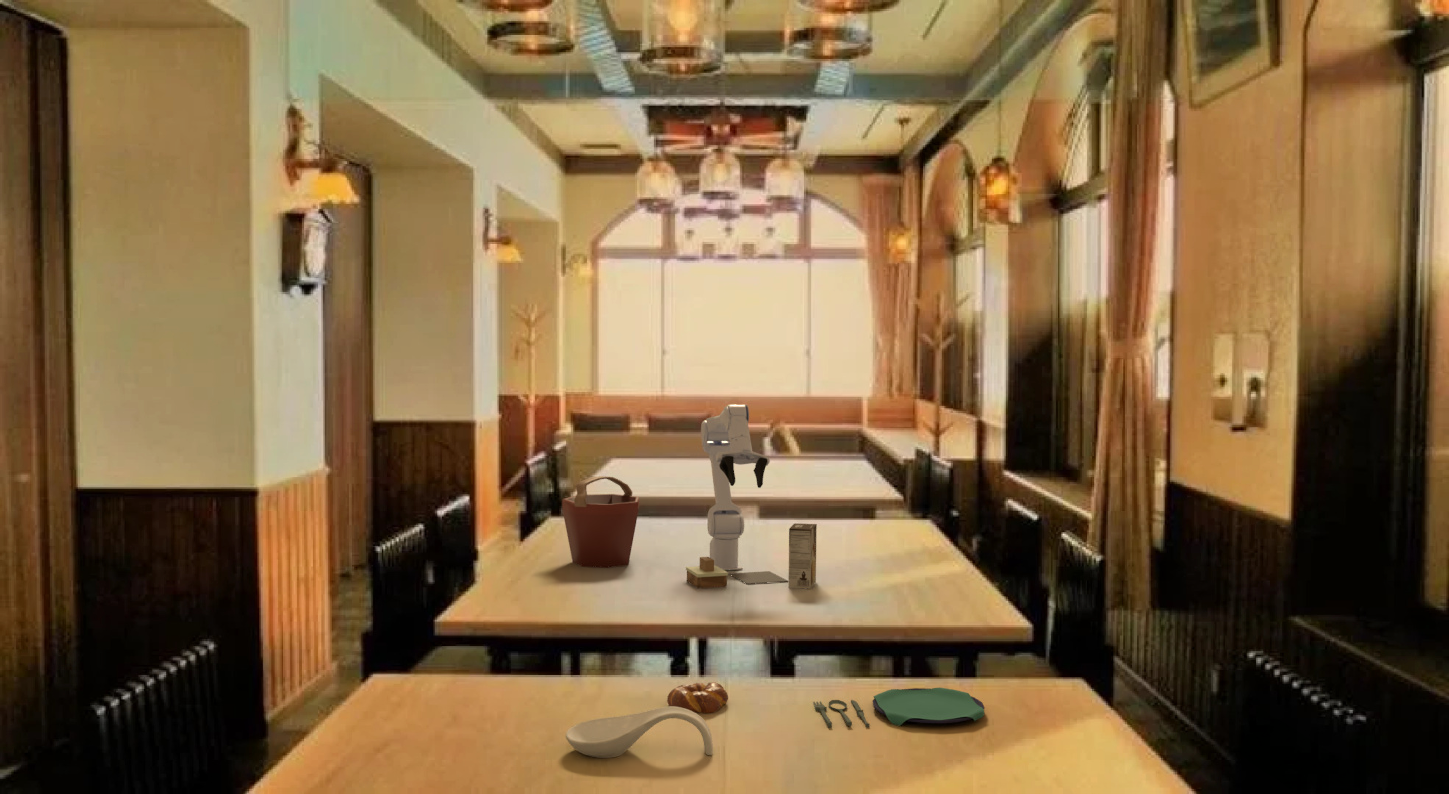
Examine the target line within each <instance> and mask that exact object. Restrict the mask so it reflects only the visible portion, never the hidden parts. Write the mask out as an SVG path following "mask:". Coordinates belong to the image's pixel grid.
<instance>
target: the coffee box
mask: <svg viewBox="0 0 1449 794" xmlns="http://www.w3.org/2000/svg"><path fill="white" fill-rule="evenodd" d="M817 528H818V527H817V523H793V524H792V525H791V526H790V527H789V529H788V532H789V533H788V588H789V589H799V588H808V589H807V590H812V588H813V587H814V586H815V584H816V583H817Z"/></svg>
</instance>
